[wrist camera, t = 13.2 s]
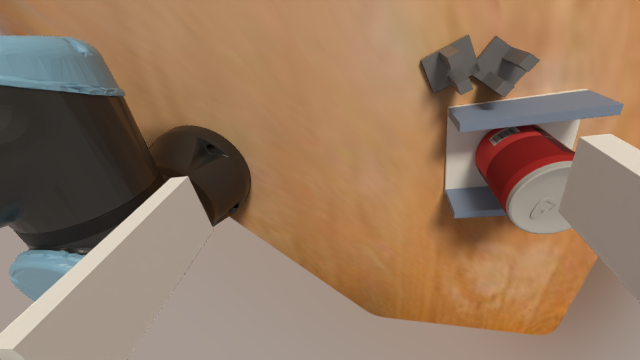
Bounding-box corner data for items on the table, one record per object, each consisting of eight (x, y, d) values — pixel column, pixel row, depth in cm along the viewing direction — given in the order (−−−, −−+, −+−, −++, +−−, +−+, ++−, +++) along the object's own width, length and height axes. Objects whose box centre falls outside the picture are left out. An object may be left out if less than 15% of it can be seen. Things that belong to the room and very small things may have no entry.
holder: (444, 193, 40) (454, 218, 36) (447, 106, 34) (460, 123, 30) (559, 185, 37) (585, 211, 33) (585, 88, 31) (623, 104, 27)
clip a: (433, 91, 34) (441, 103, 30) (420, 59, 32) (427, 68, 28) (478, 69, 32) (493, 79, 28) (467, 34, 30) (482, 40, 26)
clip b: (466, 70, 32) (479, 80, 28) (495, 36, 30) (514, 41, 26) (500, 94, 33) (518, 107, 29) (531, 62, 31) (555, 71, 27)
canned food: (462, 170, 38) (493, 226, 28) (491, 112, 33) (539, 155, 24) (520, 182, 37) (571, 242, 28) (558, 125, 33) (631, 174, 24)
